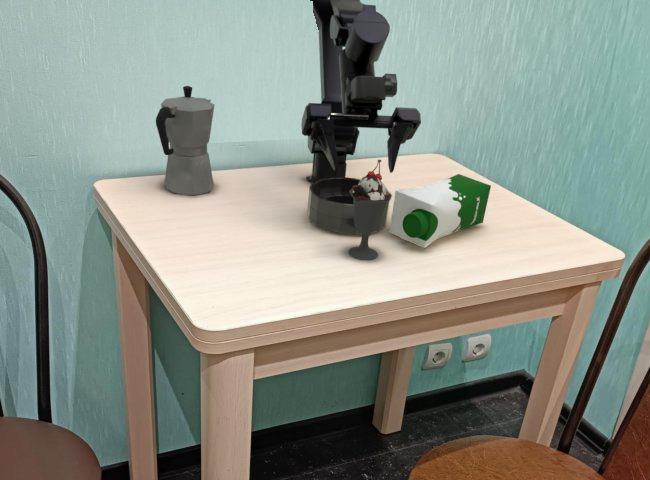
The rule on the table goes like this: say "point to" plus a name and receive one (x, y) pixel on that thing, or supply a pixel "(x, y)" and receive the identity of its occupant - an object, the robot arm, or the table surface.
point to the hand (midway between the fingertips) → (364, 170)
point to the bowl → (336, 205)
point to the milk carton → (438, 209)
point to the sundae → (368, 211)
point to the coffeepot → (186, 143)
